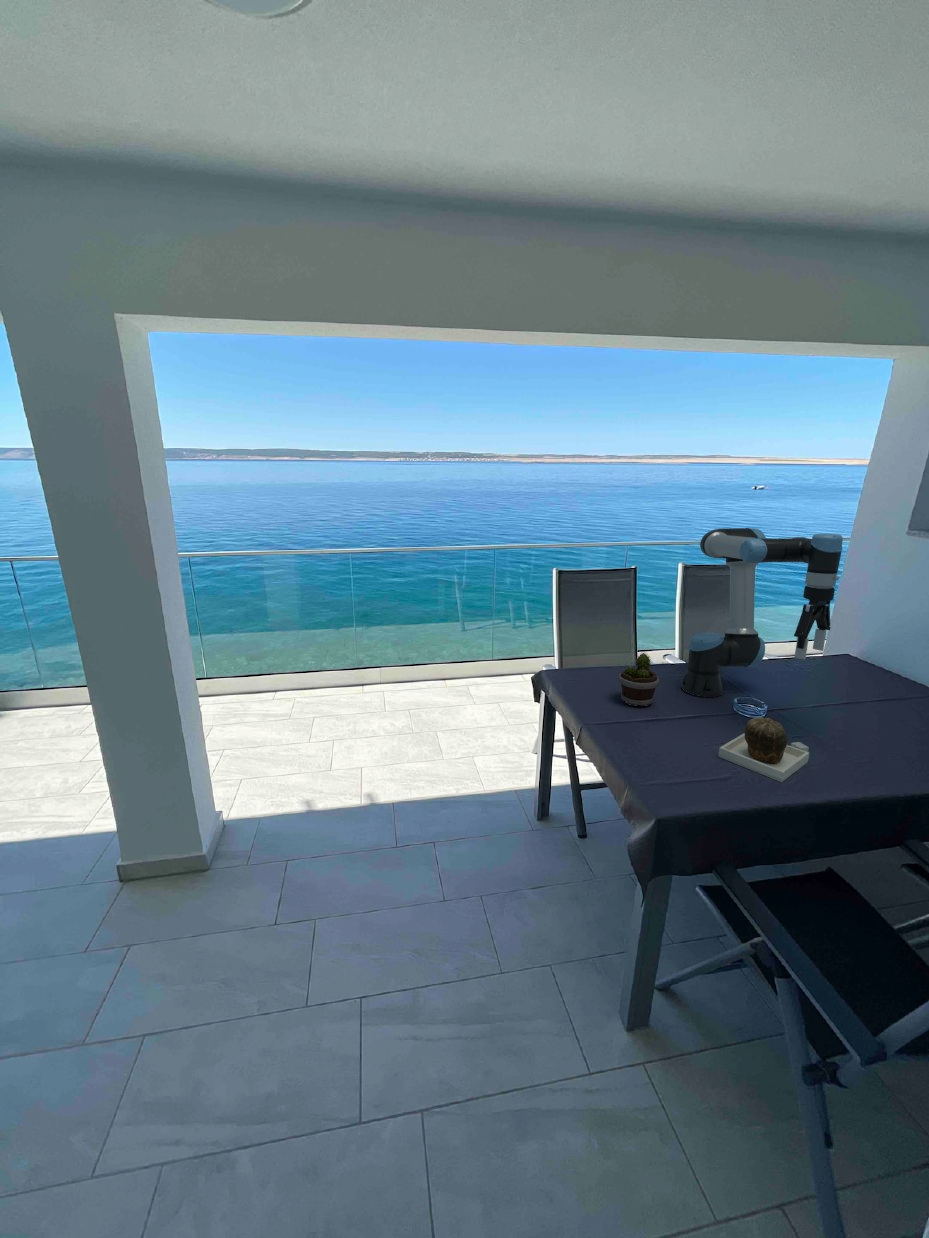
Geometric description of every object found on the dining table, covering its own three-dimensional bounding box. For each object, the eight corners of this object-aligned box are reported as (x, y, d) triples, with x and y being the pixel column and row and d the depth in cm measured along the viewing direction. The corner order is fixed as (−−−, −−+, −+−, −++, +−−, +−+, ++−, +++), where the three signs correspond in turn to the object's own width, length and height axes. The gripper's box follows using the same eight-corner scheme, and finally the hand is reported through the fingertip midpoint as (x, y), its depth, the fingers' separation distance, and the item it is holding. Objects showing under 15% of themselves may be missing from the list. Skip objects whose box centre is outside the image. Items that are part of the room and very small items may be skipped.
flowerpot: (645, 714, 182) (649, 661, 177) (608, 701, 193) (611, 652, 188) (665, 703, 191) (669, 652, 186) (629, 691, 202) (632, 644, 197)
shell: (733, 749, 155) (738, 713, 152) (767, 747, 155) (772, 711, 153) (756, 767, 144) (762, 729, 141) (792, 765, 145) (798, 727, 142)
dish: (718, 756, 152) (719, 747, 151) (746, 739, 162) (747, 731, 161) (781, 782, 138) (783, 772, 137) (807, 761, 148) (809, 752, 148)
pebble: (790, 749, 156) (791, 742, 156) (798, 748, 157) (799, 741, 156) (799, 754, 153) (800, 748, 152) (807, 753, 153) (808, 747, 153)
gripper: (817, 593, 140) (806, 665, 145) (849, 583, 154) (838, 648, 160) (788, 589, 146) (778, 658, 151) (821, 580, 160) (811, 643, 165)
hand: (809, 653), depth 155 cm, fingers open, 13 cm apart
